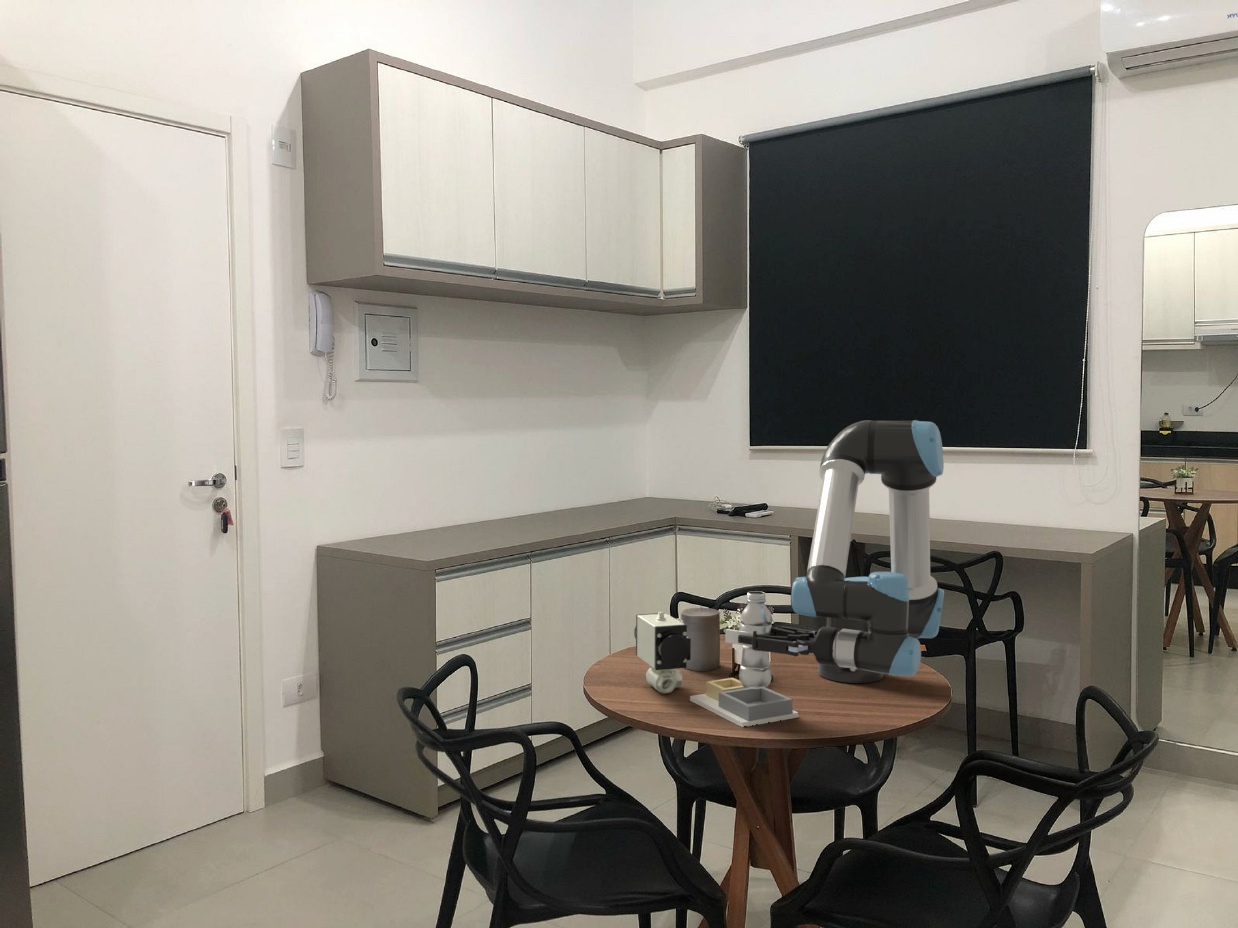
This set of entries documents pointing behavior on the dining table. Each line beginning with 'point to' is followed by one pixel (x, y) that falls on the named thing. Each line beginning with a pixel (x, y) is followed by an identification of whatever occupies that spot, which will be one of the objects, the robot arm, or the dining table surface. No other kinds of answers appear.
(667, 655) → the ball valve
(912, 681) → the dining table surface
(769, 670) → the plastic bottle
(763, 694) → the fitting board
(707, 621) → the pillar candle
